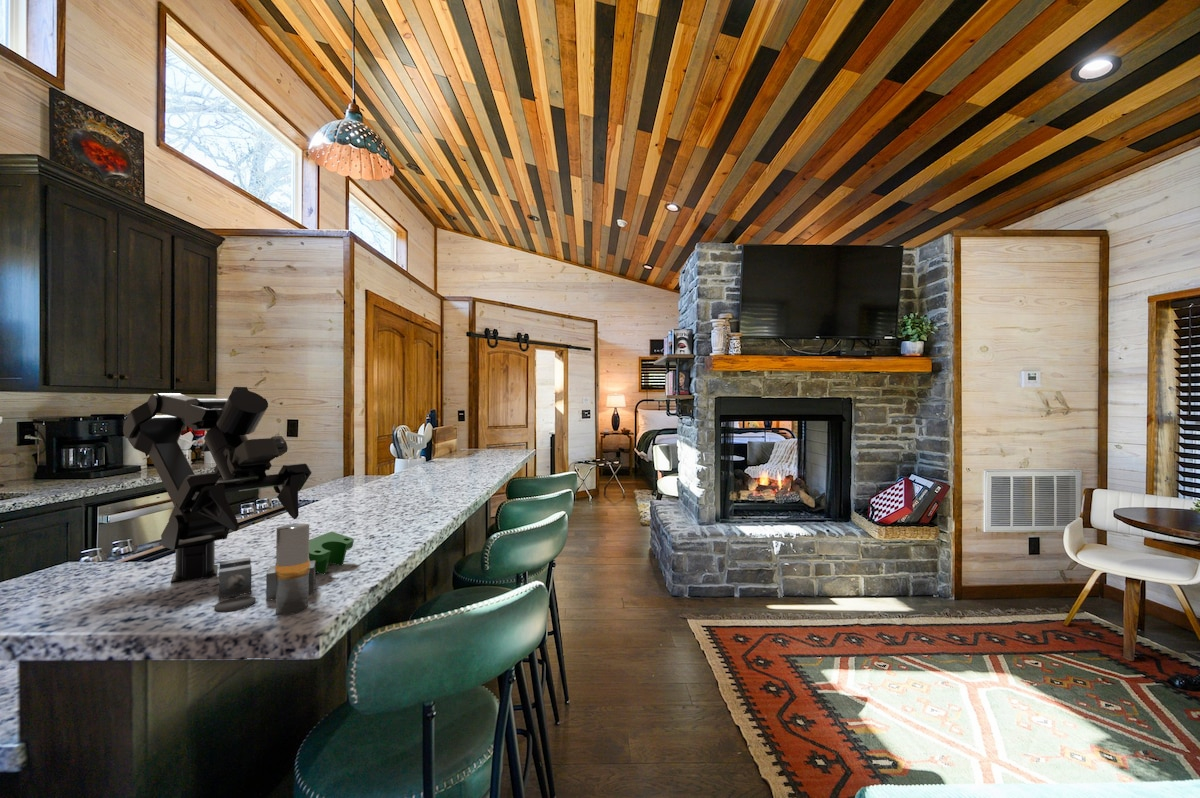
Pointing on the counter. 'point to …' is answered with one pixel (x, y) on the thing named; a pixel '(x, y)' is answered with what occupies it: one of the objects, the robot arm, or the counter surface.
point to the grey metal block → (234, 577)
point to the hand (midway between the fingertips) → (268, 523)
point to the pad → (234, 603)
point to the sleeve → (292, 569)
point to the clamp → (329, 550)
